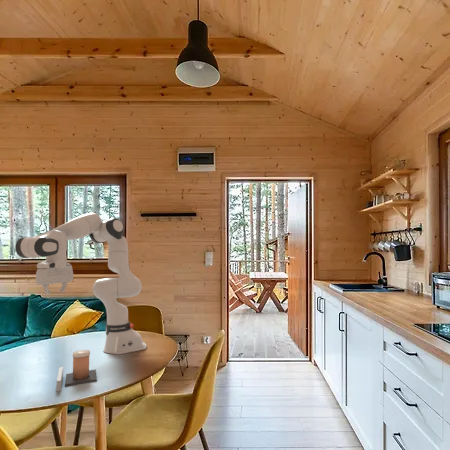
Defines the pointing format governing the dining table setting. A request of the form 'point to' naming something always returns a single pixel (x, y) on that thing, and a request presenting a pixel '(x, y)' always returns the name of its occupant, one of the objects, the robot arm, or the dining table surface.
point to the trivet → (71, 381)
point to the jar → (81, 364)
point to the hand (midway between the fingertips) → (55, 292)
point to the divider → (59, 379)
